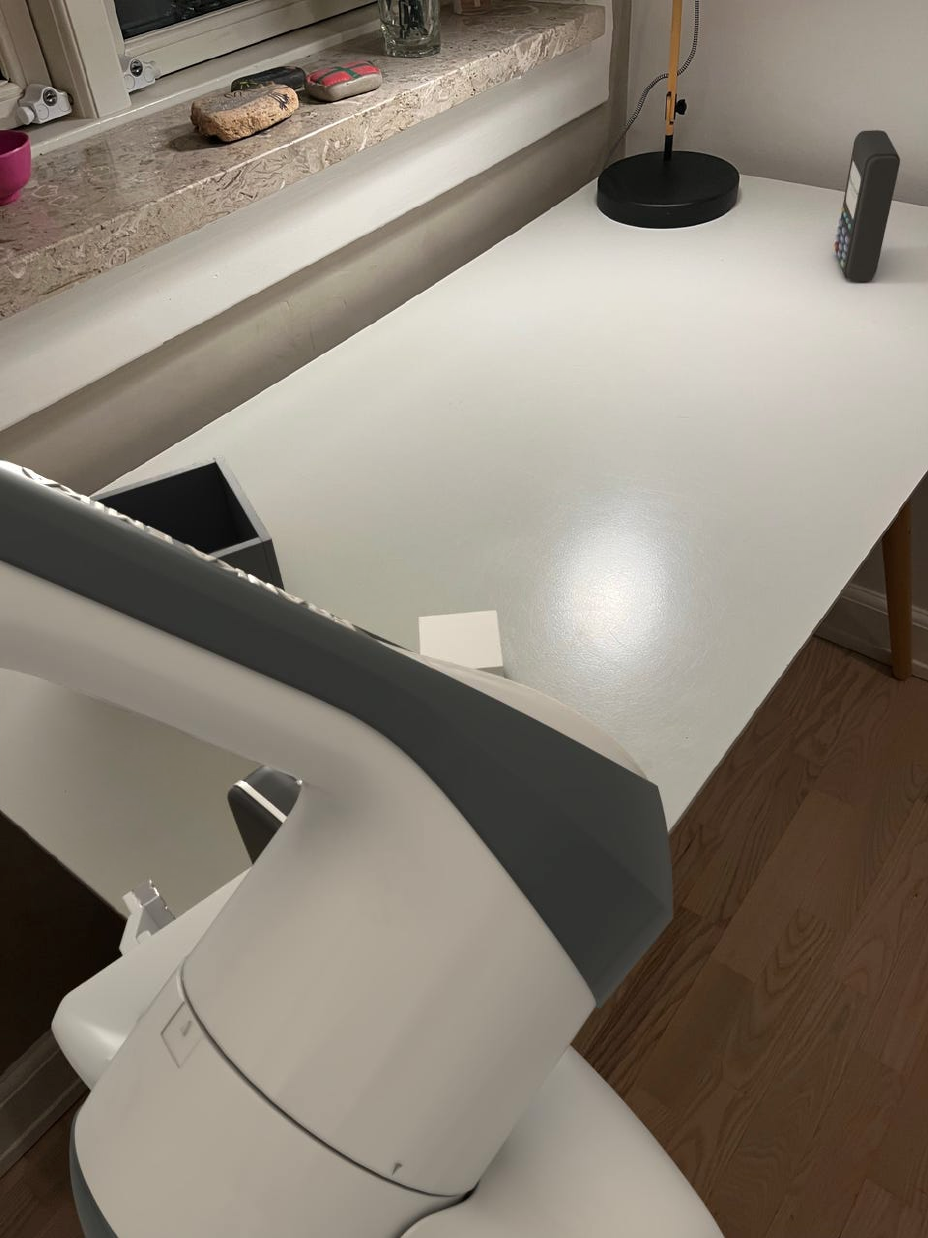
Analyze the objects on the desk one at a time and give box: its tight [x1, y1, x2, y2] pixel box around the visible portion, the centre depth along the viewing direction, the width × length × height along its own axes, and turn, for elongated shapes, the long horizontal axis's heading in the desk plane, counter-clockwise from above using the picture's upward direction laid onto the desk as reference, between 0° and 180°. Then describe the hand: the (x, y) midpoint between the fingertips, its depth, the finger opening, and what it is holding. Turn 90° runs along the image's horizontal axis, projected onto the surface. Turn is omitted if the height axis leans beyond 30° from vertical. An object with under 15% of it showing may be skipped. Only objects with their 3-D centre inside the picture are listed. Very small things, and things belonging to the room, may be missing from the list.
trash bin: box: [89, 454, 286, 592], centre depth 87 cm, size 14×14×10 cm
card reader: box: [833, 129, 901, 282], centre depth 123 cm, size 9×4×15 cm, turn 174°
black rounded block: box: [226, 764, 300, 866], centre depth 65 cm, size 7×4×11 cm, turn 47°
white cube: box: [418, 609, 505, 678], centre depth 79 cm, size 6×6×6 cm
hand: (229, 838), depth 50 cm, fingers open, 8 cm apart
